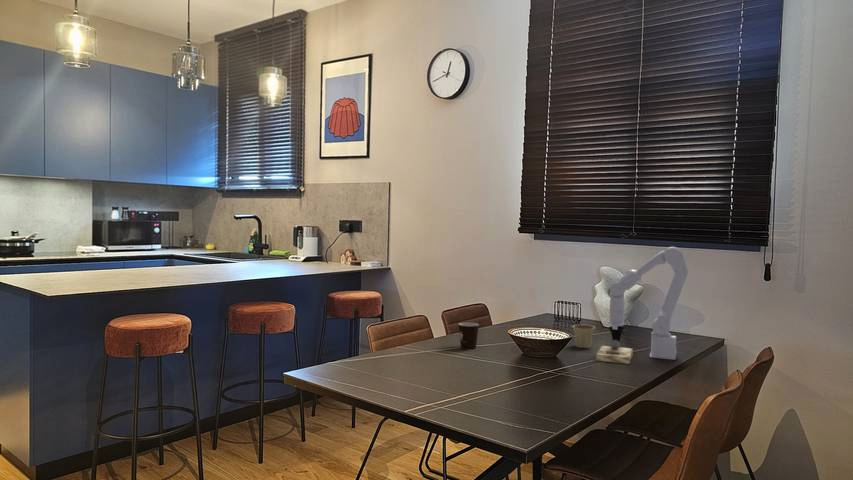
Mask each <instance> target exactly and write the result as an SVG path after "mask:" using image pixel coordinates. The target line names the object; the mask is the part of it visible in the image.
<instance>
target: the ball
mask: <svg viewBox="0 0 853 480" xmlns="http://www.w3.org/2000/svg"><path fill="white" fill-rule="evenodd" d="M620 346H621V343H619V341H617V340H613V339H612V340H611V341H610V347H612V348H614V349H617V348H619V347H620Z"/></svg>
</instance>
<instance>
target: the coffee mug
mask: <svg viewBox="0 0 853 480" xmlns="http://www.w3.org/2000/svg"><path fill="white" fill-rule="evenodd" d="M457 325H458V331H459V343H460V349H462V348H464V349H463V350H466V349H472V350H476V349H477V343H478V337H479V327H480V324H479V323H477V322H459V323H458V324H457Z"/></svg>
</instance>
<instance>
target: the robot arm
mask: <svg viewBox="0 0 853 480" xmlns="http://www.w3.org/2000/svg"><path fill="white" fill-rule="evenodd" d="M666 263H667V264H669V266H671V268H672V270H673V272H674V275H673V277H672V280H671V283H670V285H669V288H668V290H667V293H666V295H665V298H664V300H663V303H662V306H661V309H660V310H659V313H658V315H657V317H655V318H654V320H653V323H652V330H653V331H651V338H650V339H651V343H650V345H651V346H650V349H651V350H650V352H649V358H654V359H664V360H676V356H677V355H678V354H677V353H678V351H677V335H672V333H671V332H670V329H671V328H670V326H671V319H672V316H673V313H674V311H675V309H676V306H677V303H678V301H679V298H680V294H681V292H682V289H683V287H684V284H685V282H686V279H687V278H688V277H687V276H688V275H689V269H688V264H687V262H686V260H685V256H684V254H683V252H682V251H681V250H680V249H679V248H678V247H677V246H669V247H667V248H666V249H665V250H662V251H660V252H659V253H657V254H655V255H653V257H651V258H649V260H647V261H646V262H645V263H643V264H642V265H641V266H640V267H639V268H638V269H630V270H628V269H627V270H626V271H625V274H624V275H622V276H621V277H620V278H616V281H615V282H613V283H612V284H611V285H610V287H609V293H610V297H609V298H610V300H609V320H607V321H606V323H607V324H609V325H610V326H609V327H608V329H609V331H610V333H611V338H612V340H617V341H619V343H620V342H621V337H622V334H623V331H624V329H625V325H626V324H625V305H626V302H625V293H626V291H629V290H630V289H632V288H634V287H635V286H636V285H637V284H639V283H640V282H641V281H642V277H643V276H644V275H646V273H649V271H651V270H652V269H653V268H656V266H658V265H665V264H666ZM620 344H621V343H620Z"/></svg>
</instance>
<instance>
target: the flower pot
mask: <svg viewBox="0 0 853 480" xmlns="http://www.w3.org/2000/svg"><path fill="white" fill-rule="evenodd" d="M572 330H573V334H574V340H575V341H574V342H575V347H577V348H579V349H580V348H584V349H590V348H591V347H592V342H593V341H592V340H593V334H594V331H595V330H596V327H595V326H593V325H590V324H574V325H572Z"/></svg>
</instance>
